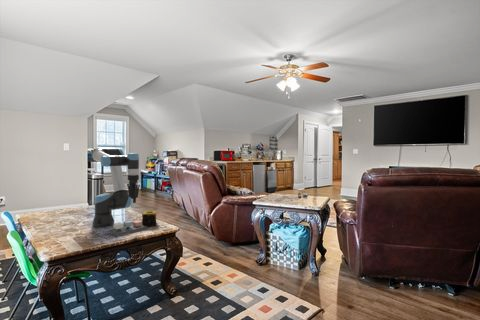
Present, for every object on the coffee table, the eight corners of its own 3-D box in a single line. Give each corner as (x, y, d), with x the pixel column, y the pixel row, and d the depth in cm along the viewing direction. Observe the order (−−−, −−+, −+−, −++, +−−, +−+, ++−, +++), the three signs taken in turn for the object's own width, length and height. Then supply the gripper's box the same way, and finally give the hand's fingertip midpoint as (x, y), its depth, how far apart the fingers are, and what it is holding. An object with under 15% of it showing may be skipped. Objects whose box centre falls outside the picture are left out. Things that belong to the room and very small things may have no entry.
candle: (141, 227, 203) (141, 214, 202) (142, 223, 213) (142, 211, 212) (156, 226, 206) (155, 213, 205) (156, 223, 215) (156, 210, 215)
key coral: (132, 228, 199) (132, 221, 199) (138, 227, 203) (138, 220, 202) (136, 229, 196) (136, 222, 196) (141, 228, 200) (141, 221, 199)
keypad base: (108, 232, 189) (108, 229, 189) (138, 226, 206) (138, 223, 206) (116, 236, 182) (116, 233, 182) (146, 229, 199) (146, 226, 199)
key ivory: (113, 230, 188) (113, 223, 188) (120, 229, 192) (120, 222, 192) (116, 232, 185) (116, 225, 185) (123, 230, 189) (123, 223, 189)
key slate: (123, 228, 194) (123, 221, 193) (129, 227, 197) (129, 220, 197) (126, 229, 191) (126, 222, 191) (132, 228, 194) (132, 221, 194)
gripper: (123, 174, 197) (123, 206, 198) (133, 175, 189) (133, 209, 190) (132, 173, 203) (133, 205, 204) (143, 174, 195) (143, 207, 196)
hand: (133, 207), depth 197 cm, fingers closed
